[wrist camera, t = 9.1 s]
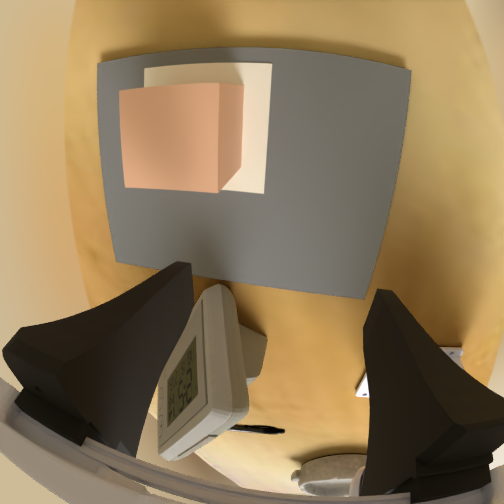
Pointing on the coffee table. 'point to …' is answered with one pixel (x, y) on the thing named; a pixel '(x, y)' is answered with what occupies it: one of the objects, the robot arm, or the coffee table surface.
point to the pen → (257, 429)
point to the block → (181, 136)
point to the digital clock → (207, 376)
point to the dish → (329, 475)
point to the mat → (268, 169)
